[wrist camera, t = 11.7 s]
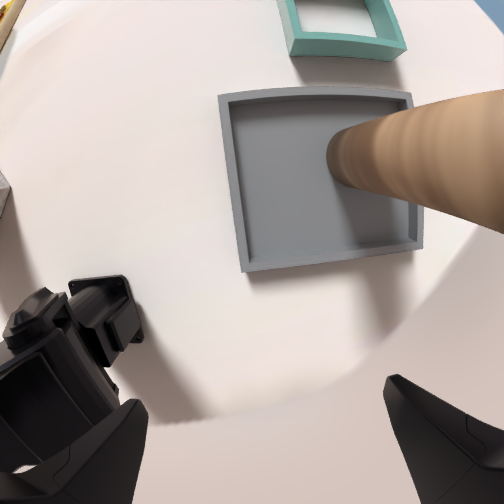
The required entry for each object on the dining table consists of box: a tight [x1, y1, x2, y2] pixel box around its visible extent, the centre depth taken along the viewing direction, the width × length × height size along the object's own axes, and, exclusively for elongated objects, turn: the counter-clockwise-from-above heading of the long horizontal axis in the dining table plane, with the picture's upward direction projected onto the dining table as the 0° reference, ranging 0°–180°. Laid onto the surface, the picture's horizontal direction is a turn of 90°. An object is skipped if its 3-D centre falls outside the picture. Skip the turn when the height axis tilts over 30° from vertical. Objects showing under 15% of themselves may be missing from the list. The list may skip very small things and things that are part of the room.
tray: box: [218, 86, 424, 273], centre depth 18 cm, size 14×12×2 cm
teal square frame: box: [277, 0, 407, 62], centre depth 13 cm, size 9×9×3 cm
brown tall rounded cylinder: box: [326, 89, 504, 234], centre depth 10 cm, size 4×4×15 cm
